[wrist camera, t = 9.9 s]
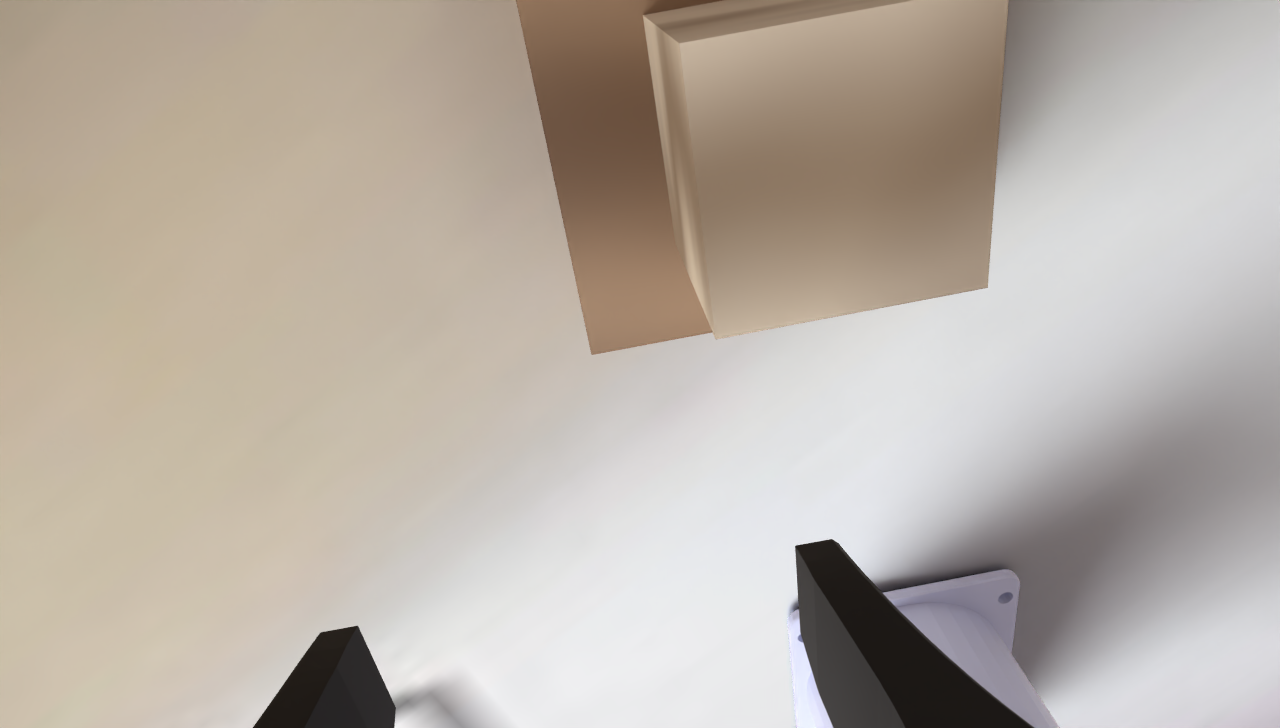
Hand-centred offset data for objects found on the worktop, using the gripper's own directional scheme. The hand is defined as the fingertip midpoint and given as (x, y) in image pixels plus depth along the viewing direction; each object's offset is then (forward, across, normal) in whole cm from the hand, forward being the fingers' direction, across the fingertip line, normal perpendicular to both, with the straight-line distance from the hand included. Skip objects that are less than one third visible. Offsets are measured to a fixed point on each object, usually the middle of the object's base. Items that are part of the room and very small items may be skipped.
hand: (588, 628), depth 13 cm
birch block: (+6, -5, -6) cm, 10 cm away
